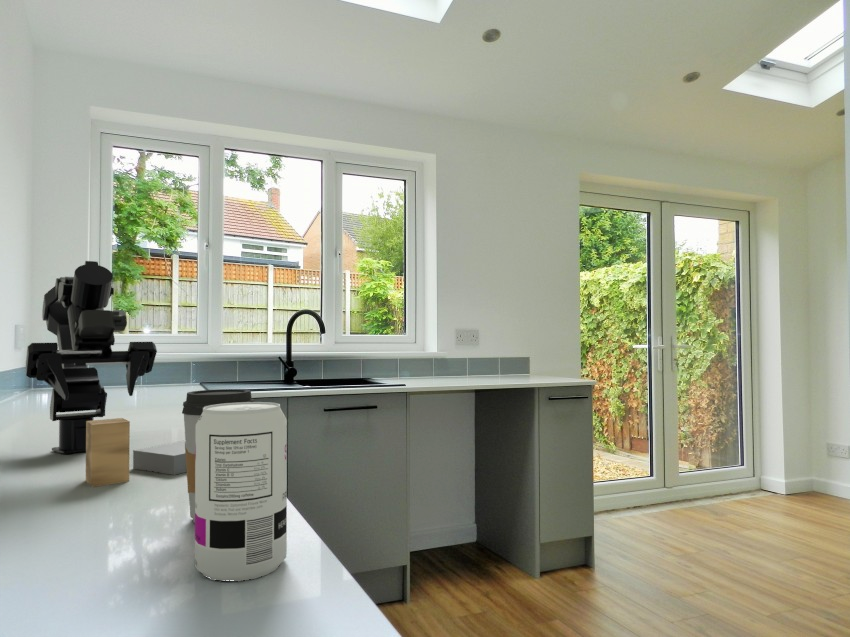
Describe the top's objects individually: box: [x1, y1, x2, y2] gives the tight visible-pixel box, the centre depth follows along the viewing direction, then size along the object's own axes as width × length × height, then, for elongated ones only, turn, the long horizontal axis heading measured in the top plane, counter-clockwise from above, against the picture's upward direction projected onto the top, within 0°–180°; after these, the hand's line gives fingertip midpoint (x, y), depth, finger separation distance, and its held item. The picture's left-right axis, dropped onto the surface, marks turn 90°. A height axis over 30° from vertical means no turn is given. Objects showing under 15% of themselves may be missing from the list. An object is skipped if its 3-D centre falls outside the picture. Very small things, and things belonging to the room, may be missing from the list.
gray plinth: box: [132, 440, 187, 476], centre depth 98 cm, size 10×10×3 cm
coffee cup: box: [181, 388, 255, 524], centre depth 69 cm, size 8×8×15 cm
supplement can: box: [194, 401, 288, 582], centre depth 55 cm, size 8×8×15 cm
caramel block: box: [85, 417, 131, 488], centre depth 88 cm, size 5×5×9 cm
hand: (100, 396), depth 93 cm, fingers open, 9 cm apart
